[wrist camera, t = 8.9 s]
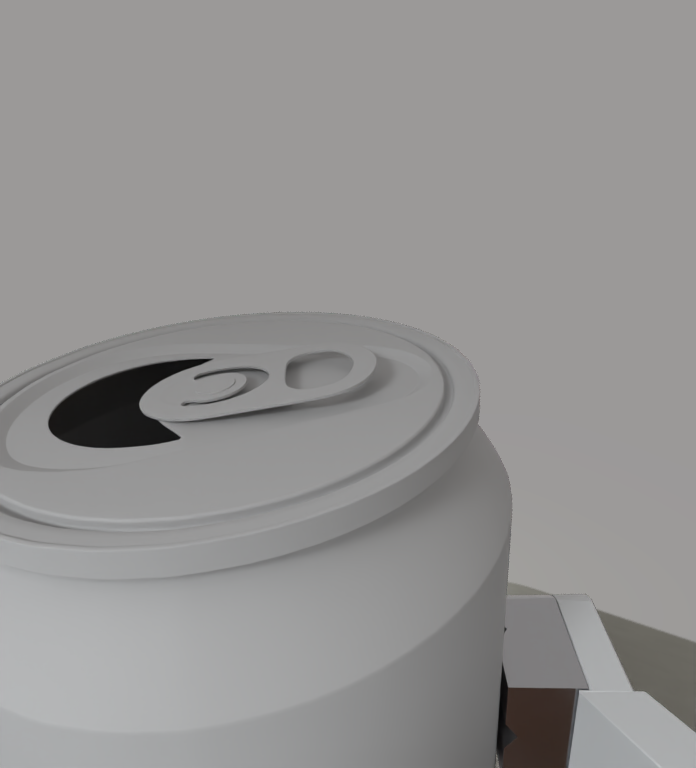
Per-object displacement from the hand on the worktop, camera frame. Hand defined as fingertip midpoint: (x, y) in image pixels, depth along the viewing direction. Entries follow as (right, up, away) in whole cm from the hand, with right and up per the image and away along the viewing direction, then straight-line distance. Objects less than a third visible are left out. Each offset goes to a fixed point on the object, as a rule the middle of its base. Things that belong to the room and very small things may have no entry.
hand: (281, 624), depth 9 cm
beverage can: (0, -7, +2) cm, 7 cm away
